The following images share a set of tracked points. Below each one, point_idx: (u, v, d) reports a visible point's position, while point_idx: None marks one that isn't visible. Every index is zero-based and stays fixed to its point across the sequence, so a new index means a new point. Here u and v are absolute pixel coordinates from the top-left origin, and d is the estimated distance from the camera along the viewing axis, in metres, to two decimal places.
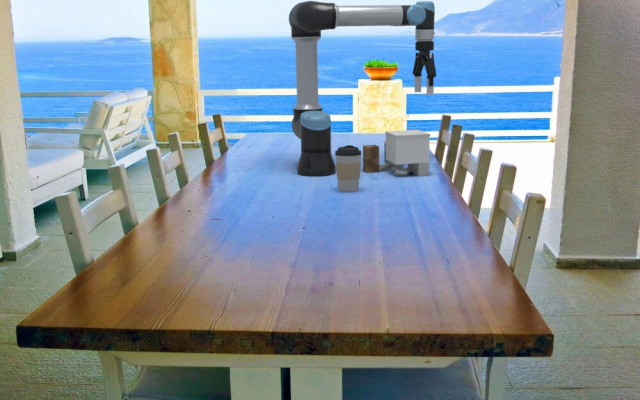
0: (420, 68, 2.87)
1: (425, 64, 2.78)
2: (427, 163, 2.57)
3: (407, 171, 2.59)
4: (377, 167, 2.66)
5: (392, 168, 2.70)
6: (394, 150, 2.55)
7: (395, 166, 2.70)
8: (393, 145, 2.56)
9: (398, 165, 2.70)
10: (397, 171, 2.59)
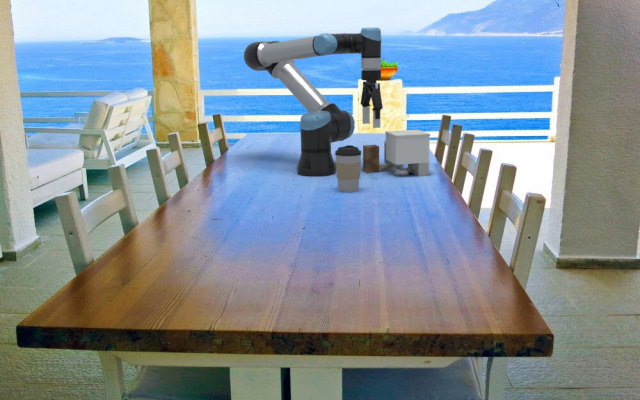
0: (368, 98, 2.67)
1: (371, 95, 2.58)
2: (427, 163, 2.57)
3: (407, 171, 2.59)
4: (377, 167, 2.66)
5: (392, 168, 2.70)
6: (394, 150, 2.55)
7: (395, 166, 2.70)
8: (393, 145, 2.56)
9: (398, 165, 2.70)
10: (397, 171, 2.58)
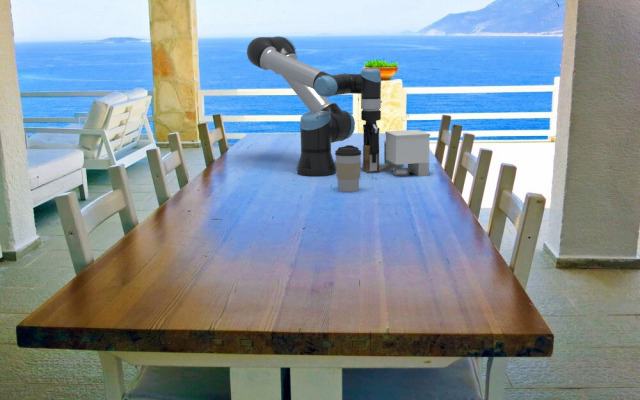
0: (369, 140, 2.68)
1: (370, 137, 2.63)
2: (427, 163, 2.57)
3: (407, 171, 2.59)
4: (377, 167, 2.66)
5: (392, 168, 2.70)
6: (394, 150, 2.55)
7: (395, 166, 2.70)
8: (393, 145, 2.56)
9: (398, 165, 2.70)
10: (398, 171, 2.58)
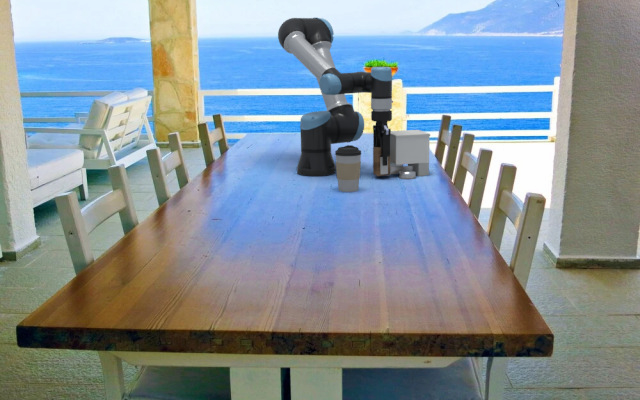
0: (380, 142, 2.56)
1: (380, 139, 2.50)
2: (427, 163, 2.57)
3: (414, 173, 2.53)
4: (388, 170, 2.54)
5: None
6: (394, 150, 2.55)
7: (407, 169, 2.58)
8: (393, 145, 2.56)
9: (410, 168, 2.58)
10: (404, 174, 2.52)
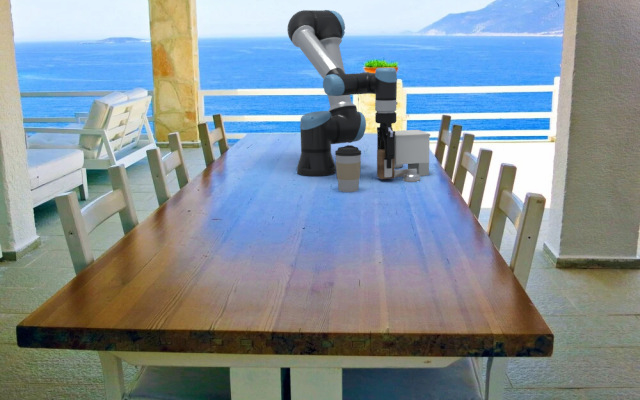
0: (384, 144, 2.51)
1: (385, 141, 2.45)
2: (427, 163, 2.57)
3: (418, 176, 2.48)
4: (392, 173, 2.49)
5: None
6: None
7: (411, 172, 2.53)
8: None
9: (414, 171, 2.53)
10: (408, 177, 2.48)
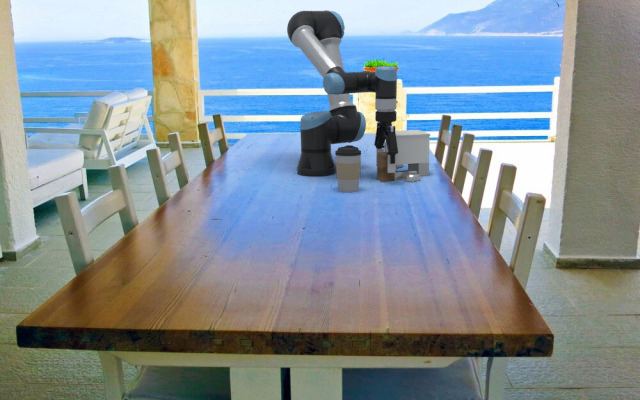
0: (382, 140, 2.53)
1: (386, 138, 2.44)
2: (427, 163, 2.57)
3: (418, 176, 2.48)
4: (392, 176, 2.49)
5: None
6: None
7: None
8: None
9: None
10: (408, 177, 2.48)
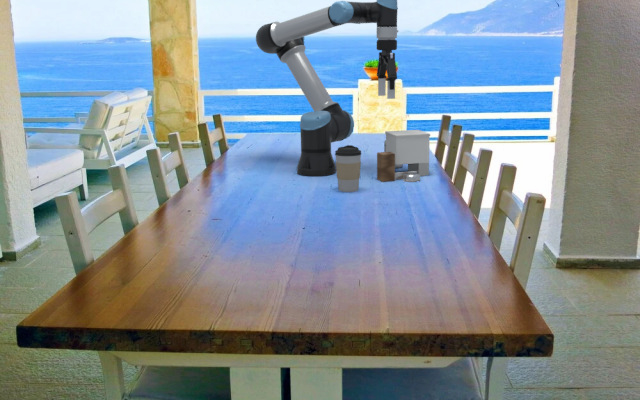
0: (383, 69, 2.61)
1: (386, 65, 2.52)
2: (427, 163, 2.57)
3: (418, 176, 2.48)
4: (392, 176, 2.49)
5: None
6: (394, 150, 2.55)
7: None
8: (393, 145, 2.56)
9: None
10: (408, 177, 2.48)
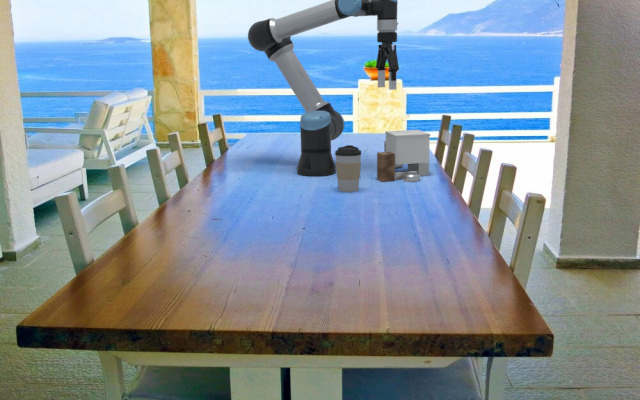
0: (383, 61, 2.67)
1: (387, 57, 2.58)
2: (427, 163, 2.57)
3: (418, 176, 2.48)
4: (392, 176, 2.49)
5: None
6: (394, 150, 2.55)
7: None
8: (393, 145, 2.56)
9: None
10: (408, 177, 2.47)
